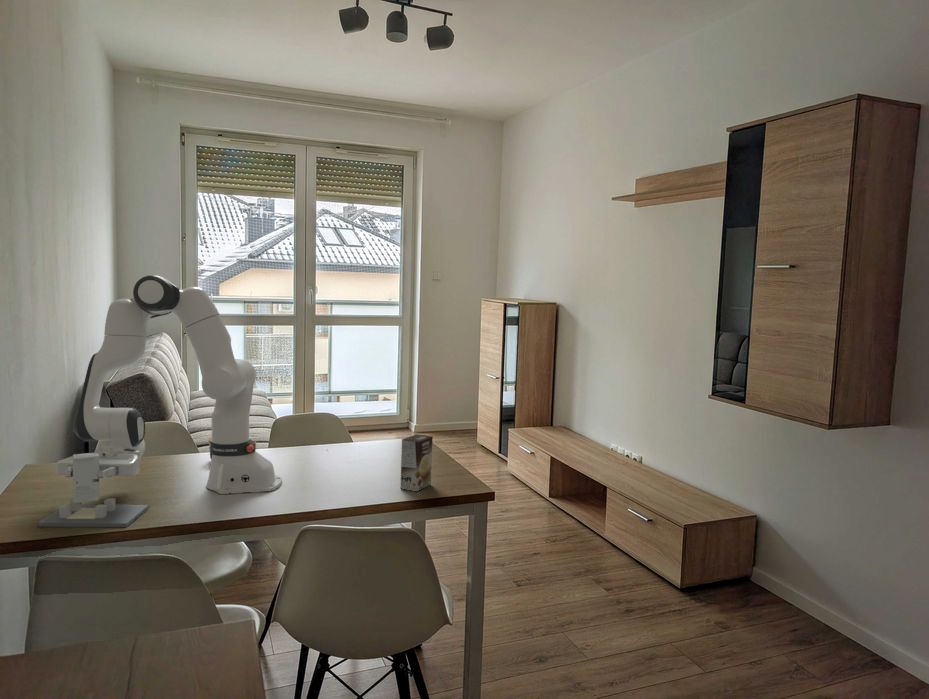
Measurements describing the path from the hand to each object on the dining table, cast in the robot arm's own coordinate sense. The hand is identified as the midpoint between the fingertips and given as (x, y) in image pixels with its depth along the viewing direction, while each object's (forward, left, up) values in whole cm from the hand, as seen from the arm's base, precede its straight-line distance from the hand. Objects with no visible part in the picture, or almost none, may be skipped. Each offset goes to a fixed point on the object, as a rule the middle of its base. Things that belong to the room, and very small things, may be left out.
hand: (84, 474), depth 173 cm
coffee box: (-87, -30, -12) cm, 93 cm away
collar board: (-2, -1, -12) cm, 12 cm away
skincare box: (0, -1, -7) cm, 7 cm away
